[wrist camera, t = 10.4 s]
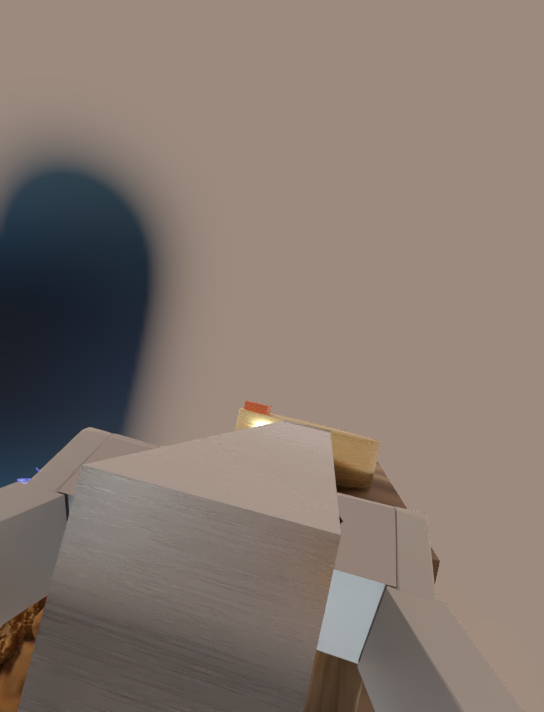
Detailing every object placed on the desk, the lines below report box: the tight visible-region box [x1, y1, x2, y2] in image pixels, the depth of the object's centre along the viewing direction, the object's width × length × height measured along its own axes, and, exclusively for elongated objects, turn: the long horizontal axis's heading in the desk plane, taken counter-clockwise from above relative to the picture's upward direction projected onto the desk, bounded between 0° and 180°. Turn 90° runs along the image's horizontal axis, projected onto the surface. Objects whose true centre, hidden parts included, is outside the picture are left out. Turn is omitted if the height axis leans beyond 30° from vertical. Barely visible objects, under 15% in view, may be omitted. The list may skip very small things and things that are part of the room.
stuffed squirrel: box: [0, 596, 47, 712], centre depth 39 cm, size 10×14×13 cm
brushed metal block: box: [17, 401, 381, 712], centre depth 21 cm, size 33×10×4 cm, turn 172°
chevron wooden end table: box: [303, 462, 440, 712], centre depth 33 cm, size 27×14×26 cm, turn 172°
